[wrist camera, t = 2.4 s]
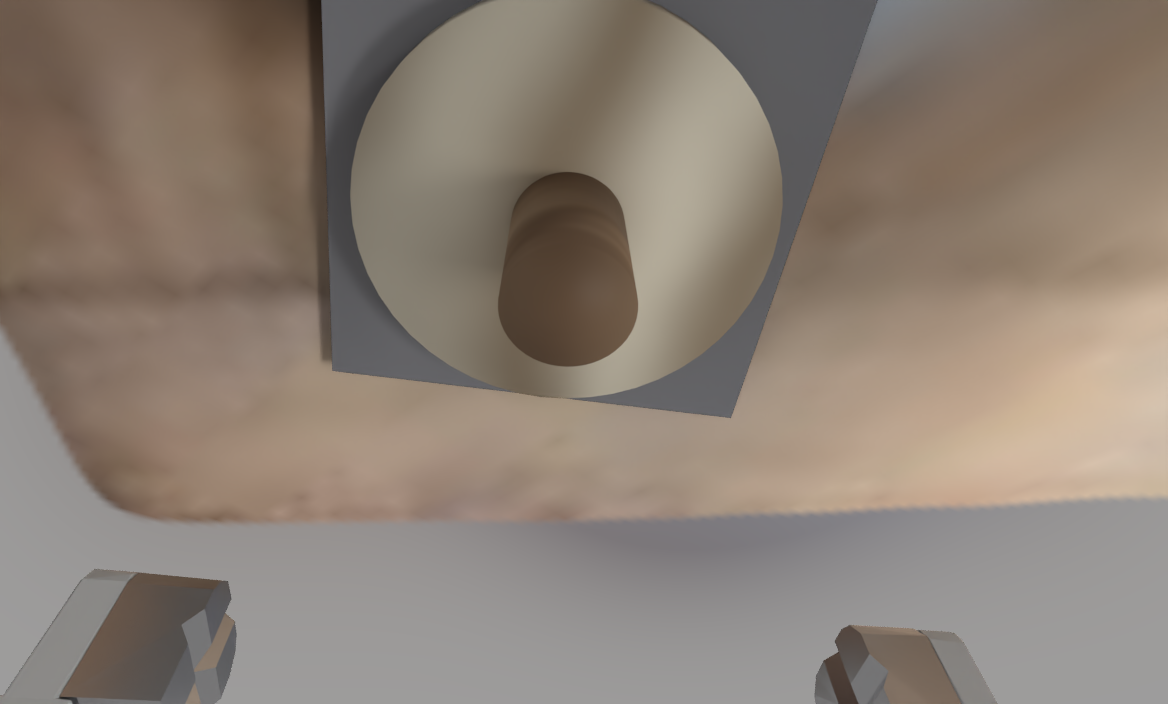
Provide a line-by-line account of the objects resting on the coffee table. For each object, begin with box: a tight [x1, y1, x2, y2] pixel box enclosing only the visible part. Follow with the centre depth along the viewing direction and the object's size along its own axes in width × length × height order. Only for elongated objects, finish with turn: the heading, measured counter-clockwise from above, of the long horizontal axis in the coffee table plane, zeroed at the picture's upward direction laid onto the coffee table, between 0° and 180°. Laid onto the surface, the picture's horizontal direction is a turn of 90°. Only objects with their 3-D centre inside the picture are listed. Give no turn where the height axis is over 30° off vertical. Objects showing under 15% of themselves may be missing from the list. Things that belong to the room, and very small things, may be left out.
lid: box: [350, 0, 783, 398], centre depth 19 cm, size 12×12×6 cm
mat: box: [321, 0, 877, 418], centre depth 22 cm, size 14×14×1 cm
